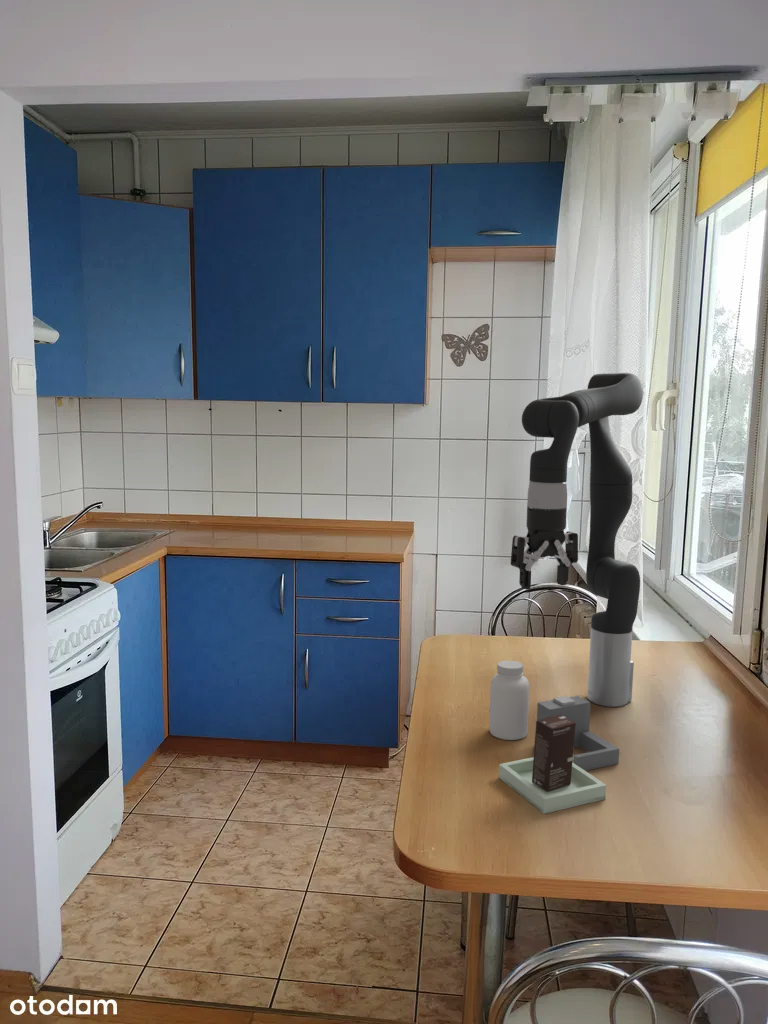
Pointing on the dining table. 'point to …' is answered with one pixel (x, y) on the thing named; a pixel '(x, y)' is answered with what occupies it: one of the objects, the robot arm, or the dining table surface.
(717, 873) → the dining table surface
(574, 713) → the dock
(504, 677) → the pill bottle
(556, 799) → the tray
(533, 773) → the box
